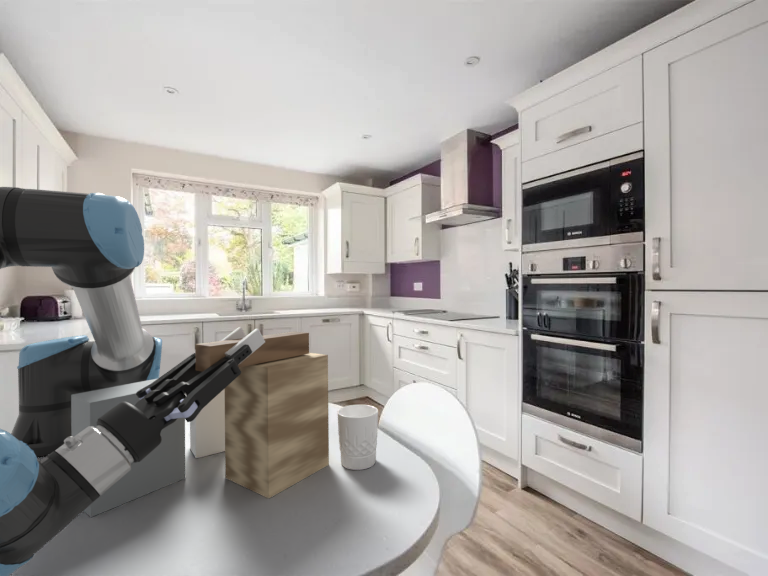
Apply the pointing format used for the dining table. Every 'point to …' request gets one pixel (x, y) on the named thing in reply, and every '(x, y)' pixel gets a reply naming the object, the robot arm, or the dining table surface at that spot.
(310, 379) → the oak block
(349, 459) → the white cup
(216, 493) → the dining table surface
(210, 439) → the milk
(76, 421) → the grey block
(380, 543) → the dining table surface
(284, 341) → the bar
